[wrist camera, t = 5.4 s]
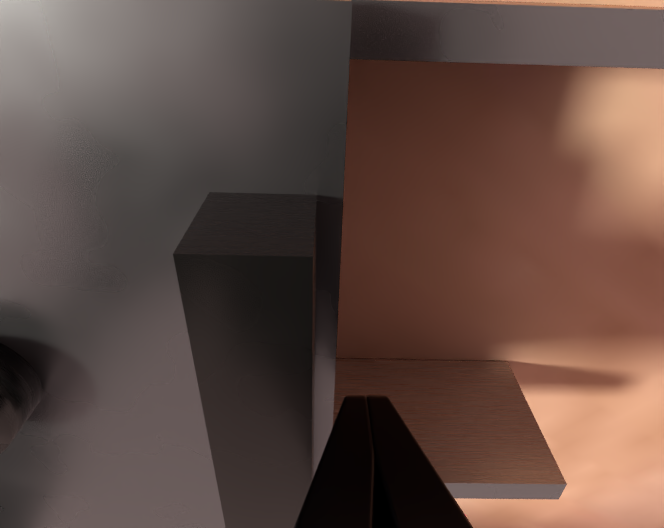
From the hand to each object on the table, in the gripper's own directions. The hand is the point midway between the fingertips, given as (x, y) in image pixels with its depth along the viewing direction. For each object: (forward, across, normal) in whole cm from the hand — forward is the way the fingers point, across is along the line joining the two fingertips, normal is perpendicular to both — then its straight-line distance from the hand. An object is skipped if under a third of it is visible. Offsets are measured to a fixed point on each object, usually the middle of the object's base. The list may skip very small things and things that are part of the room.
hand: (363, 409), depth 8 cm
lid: (+2, +7, 0) cm, 7 cm away
